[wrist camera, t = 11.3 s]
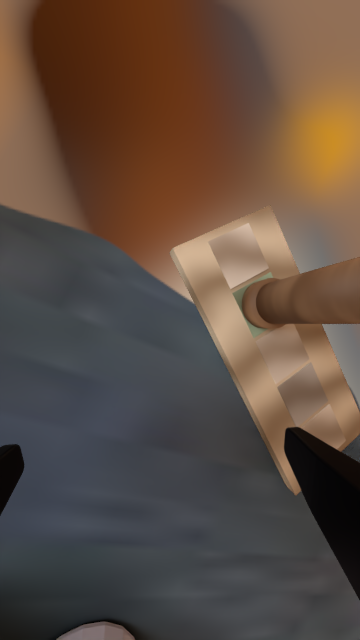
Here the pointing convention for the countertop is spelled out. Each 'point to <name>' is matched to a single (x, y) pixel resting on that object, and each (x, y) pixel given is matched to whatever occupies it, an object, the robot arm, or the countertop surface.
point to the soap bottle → (98, 632)
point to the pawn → (306, 297)
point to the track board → (267, 338)
